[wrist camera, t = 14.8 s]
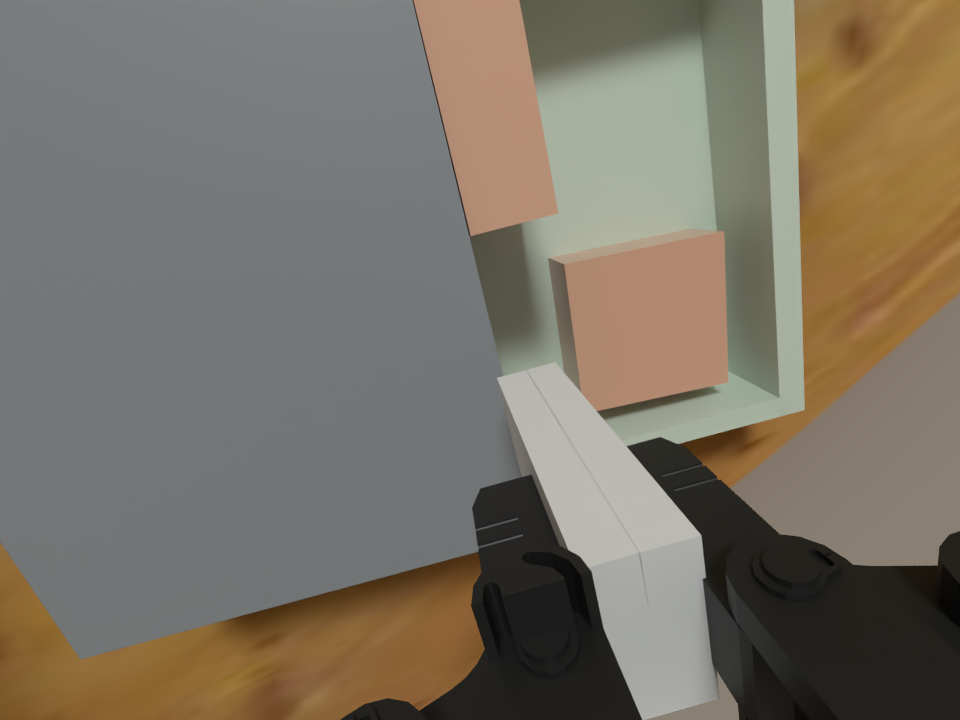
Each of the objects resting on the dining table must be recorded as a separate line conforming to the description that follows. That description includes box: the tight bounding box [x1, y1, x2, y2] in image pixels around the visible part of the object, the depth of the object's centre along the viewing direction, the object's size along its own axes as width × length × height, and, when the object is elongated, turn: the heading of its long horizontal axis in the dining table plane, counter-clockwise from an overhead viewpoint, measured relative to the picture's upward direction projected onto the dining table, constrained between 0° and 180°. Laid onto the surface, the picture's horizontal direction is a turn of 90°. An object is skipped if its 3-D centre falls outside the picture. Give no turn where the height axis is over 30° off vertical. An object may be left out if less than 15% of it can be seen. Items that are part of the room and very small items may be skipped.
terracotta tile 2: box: [548, 229, 728, 411], centre depth 19 cm, size 6×6×2 cm
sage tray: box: [469, 0, 805, 446], centre depth 18 cm, size 18×12×4 cm, turn 14°
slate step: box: [0, 0, 522, 659], centre depth 16 cm, size 18×16×7 cm
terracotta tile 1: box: [412, 0, 558, 236], centre depth 15 cm, size 6×6×2 cm
